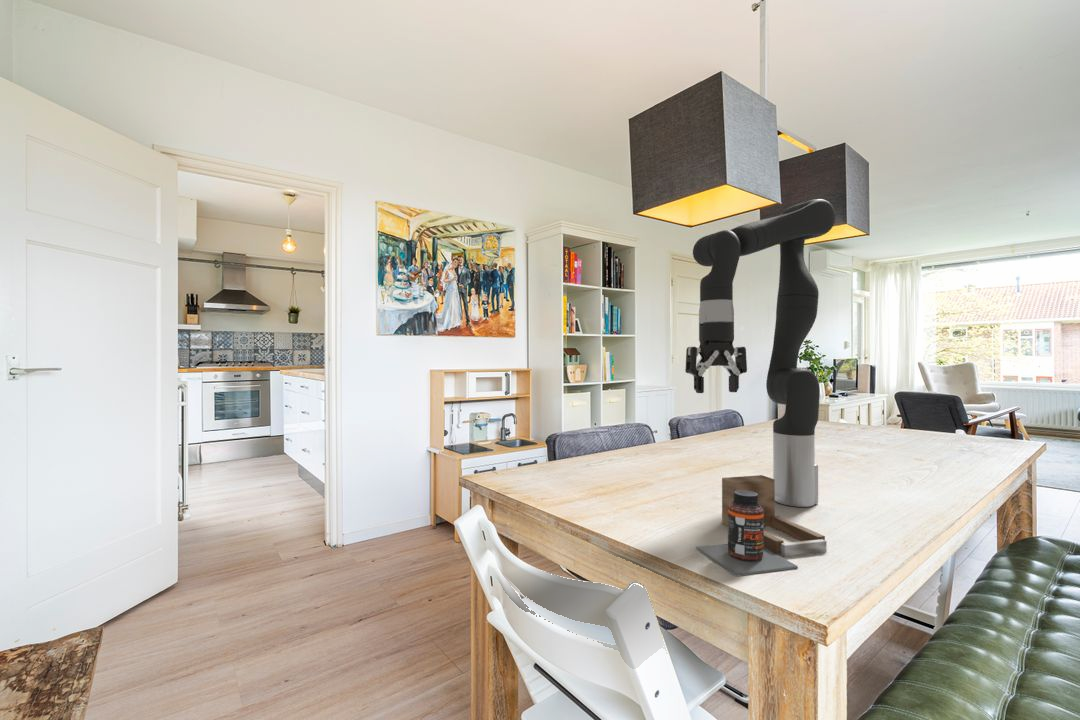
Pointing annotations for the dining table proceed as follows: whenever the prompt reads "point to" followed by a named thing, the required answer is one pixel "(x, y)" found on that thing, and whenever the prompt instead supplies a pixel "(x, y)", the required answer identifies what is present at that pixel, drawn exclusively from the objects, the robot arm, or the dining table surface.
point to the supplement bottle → (745, 526)
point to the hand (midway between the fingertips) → (716, 392)
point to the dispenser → (772, 517)
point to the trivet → (744, 567)
